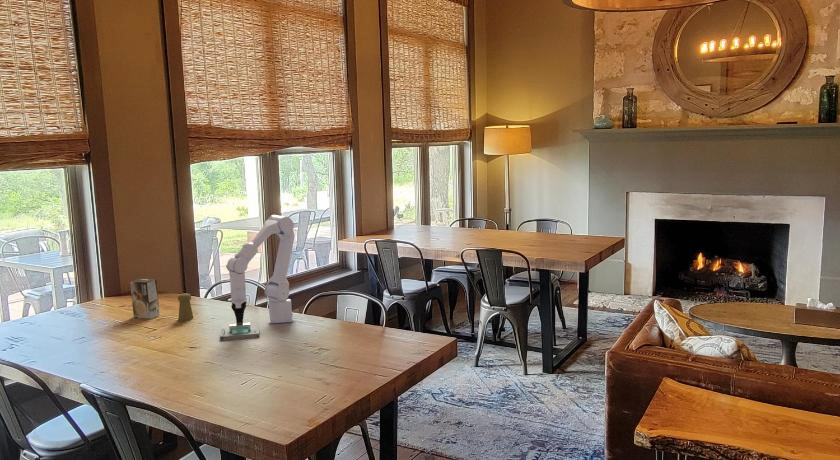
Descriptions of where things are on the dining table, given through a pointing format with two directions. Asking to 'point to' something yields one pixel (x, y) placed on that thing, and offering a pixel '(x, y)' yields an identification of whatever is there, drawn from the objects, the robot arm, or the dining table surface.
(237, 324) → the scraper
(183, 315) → the cork
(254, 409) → the dining table surface
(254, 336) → the frame
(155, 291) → the coffee box
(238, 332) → the tile
